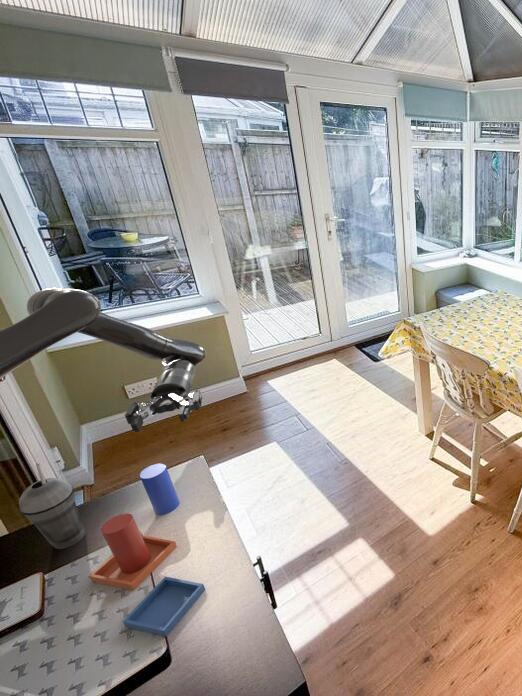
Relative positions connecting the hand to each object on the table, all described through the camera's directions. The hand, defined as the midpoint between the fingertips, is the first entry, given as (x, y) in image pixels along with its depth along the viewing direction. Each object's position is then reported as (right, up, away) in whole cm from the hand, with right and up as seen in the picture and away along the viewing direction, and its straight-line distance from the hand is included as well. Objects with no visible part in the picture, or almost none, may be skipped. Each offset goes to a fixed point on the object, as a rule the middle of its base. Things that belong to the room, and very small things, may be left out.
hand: (159, 423), depth 95 cm
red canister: (+8, -23, -15) cm, 29 cm away
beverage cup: (-9, -21, -11) cm, 26 cm away
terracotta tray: (+8, -24, -15) cm, 29 cm away
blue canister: (+4, -18, -3) cm, 19 cm away
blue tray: (+20, -27, -22) cm, 41 cm away
